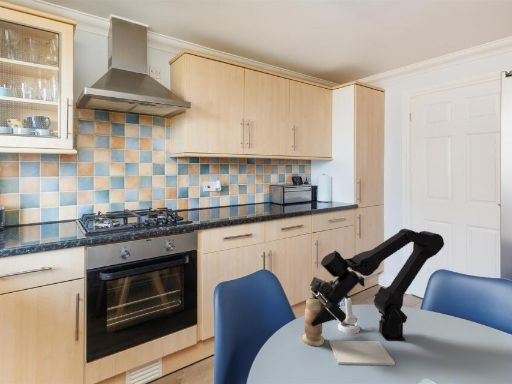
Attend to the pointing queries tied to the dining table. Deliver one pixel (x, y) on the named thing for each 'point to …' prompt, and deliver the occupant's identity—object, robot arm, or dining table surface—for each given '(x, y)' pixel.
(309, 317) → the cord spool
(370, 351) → the mat
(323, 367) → the dining table surface
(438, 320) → the dining table surface
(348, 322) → the white vr controller
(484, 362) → the dining table surface
